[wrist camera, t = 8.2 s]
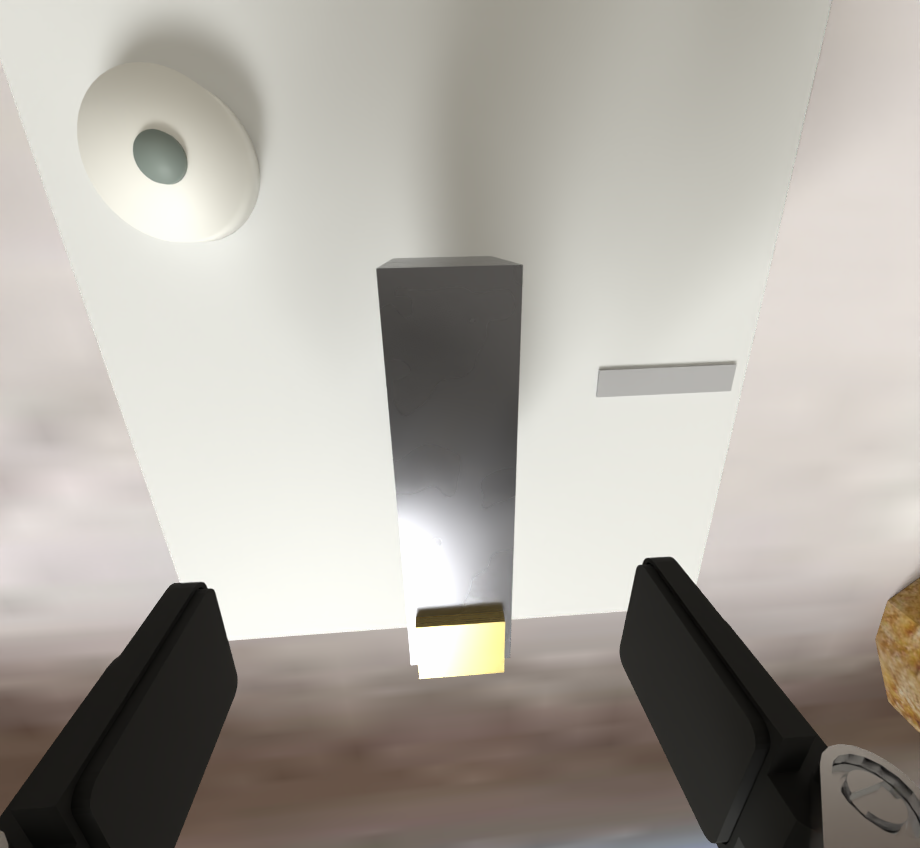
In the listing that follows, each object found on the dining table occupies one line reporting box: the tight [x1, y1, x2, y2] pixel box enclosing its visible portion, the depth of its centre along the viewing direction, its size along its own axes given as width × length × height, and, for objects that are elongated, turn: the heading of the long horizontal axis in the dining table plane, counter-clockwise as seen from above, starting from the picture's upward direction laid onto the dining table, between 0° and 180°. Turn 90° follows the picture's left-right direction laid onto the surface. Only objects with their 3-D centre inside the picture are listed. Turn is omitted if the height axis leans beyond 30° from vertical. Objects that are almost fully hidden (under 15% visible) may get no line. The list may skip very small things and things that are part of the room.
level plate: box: [0, 0, 832, 641], centre depth 16 cm, size 22×22×3 cm
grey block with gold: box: [376, 256, 523, 679], centre depth 12 cm, size 9×2×7 cm, turn 1°
